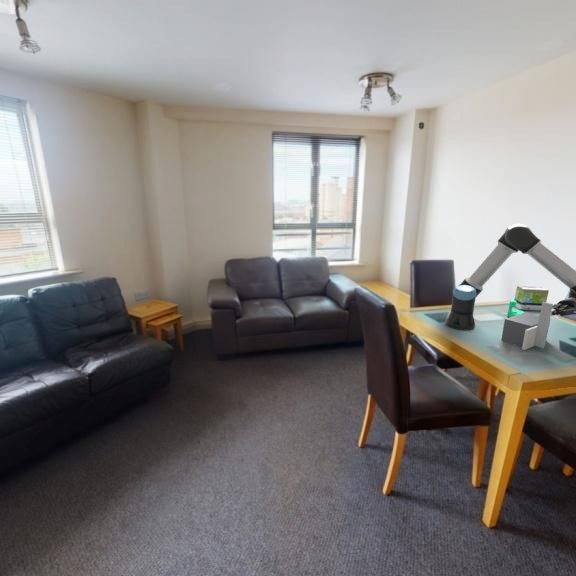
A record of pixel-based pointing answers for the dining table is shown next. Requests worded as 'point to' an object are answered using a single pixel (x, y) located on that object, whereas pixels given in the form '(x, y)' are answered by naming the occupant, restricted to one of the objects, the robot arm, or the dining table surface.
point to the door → (538, 329)
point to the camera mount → (513, 312)
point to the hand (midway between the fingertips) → (546, 314)
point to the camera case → (518, 327)
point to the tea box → (530, 297)
